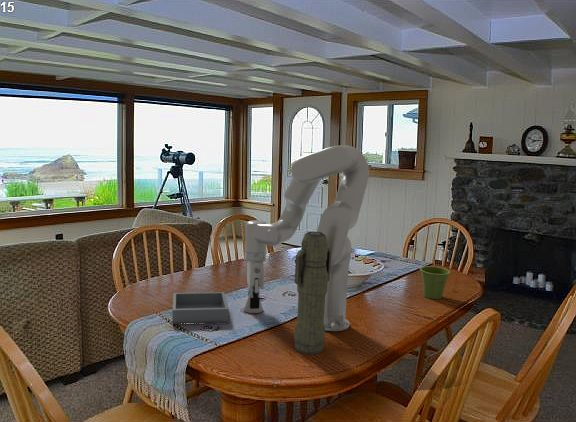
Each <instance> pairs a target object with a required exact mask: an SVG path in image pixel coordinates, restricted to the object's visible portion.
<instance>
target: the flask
mask: <svg viewBox="0 0 576 422" xmlns="http://www.w3.org/2000/svg"><path fill="white" fill-rule="evenodd" d="M253 289H255V287H253ZM253 292H255V291H253ZM250 297H251V289H250V293H249V296H248V295H247V298H246V302H245V304H244V306H243V312H245V313H249V314H260V313H262V312H263V311H264V309H263V305H262V302H261V299H260V300H259V308H258V309H251V308H250Z"/></svg>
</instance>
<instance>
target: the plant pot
mask: <svg viewBox="0 0 576 422" xmlns="http://www.w3.org/2000/svg"><path fill="white" fill-rule="evenodd" d="M419 271H420V272H421V278H422V281H421V282H422V292H423V297H425V298H427V299H433V300H440V299H442V297H443V294H444V290H445V288H446V287H445V286H446V284H447V280H448V278H449V275H450V274H451V271H450V270H449V269H447V268H444V267H440V266H432V265H430V266H429V265H428V266H425V265H424V266H421V267H419Z"/></svg>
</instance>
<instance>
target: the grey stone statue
mask: <svg viewBox="0 0 576 422" xmlns="http://www.w3.org/2000/svg"><path fill="white" fill-rule="evenodd" d="M330 268H331V250H330V248H328V243H327V239H326V235H325V234H323V233H322V232H317V231H307V232H305V233H304V235H303V237H302V241H301V248H300V249H299V250H297V253H296V255H295V267H294V269H295V271H294V283H295V284H296V285H297V286H296V287H297V288H296V290H297V293H298V296H297V297H298V298H297V313H296V315H297V316H296V323H295V325H294V335H293V336H294V339H293V340H294V346H293V347H294V350H295V351H297V352H299V353H301V354H303V355H304V354H305V355H317V354H319V353H322V352H323V351H324V343H325V339H326V338H325V337H326V334H325V333H326V331H325V326H324V308H325V295H326V293H327V285H328V281H329V279H330Z"/></svg>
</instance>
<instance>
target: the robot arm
mask: <svg viewBox="0 0 576 422" xmlns="http://www.w3.org/2000/svg"><path fill="white" fill-rule="evenodd" d="M291 164H292V165H291V167H290V175H291V176H292V177H291V180H290V182H289V183H288V185H287V187H286V189H285V190H284V192H283V196H284V199H285V207H284V209H283V211H282V212H281V215H280V217H279V218H278V220H277V221H275V222H273V223H268V224H267V222H266V221H264V220H259V219H255V220H249V221H247V222H246V224H245V233H244V234H245V237H244V238H245V239H244V261H245V262H246V263H247V264H246V265H247V268H246V270H247V271H246V282H247V285H248V293H247V297H248V296H249V293H250V289H251V297H250V308H251V309H258V308H259V300H260V301H261V298H260V297H261V296H260V290H264V289H265V286H264V285H265V282H264V281H265V269H264V268H265V267H264V265H265V264H264V262H266V261H267V246H271V247H276V246H279V245H281V244H282V243H285V242H287V241H289V240H291V238H292V237H293V236H294V234H295V232H296V231H297V229H298V227H300V224H301V222H302V220H303V217H304V215H305V212H306V209H307V205H308V203H309V201H310V200H311V197H312V196H313V194H314V193H315V191H316V189H317V187H318V185H319V183H320V182H321V180H322V179H324V178H327V177H330V176H334V175H337V174H341V173H342V178H341V181H340V183H339V185H338V189H337V194H336V197H335V199H334V202H333V204H329V206H327V207H326V208H325V209H324V211H323V212H322V214H321V216H320V218H319V224H318V227H317V229H316V232H322V233H323V234H325V235H326V239H327V243H328V248H330V250H331V268H330V279H329V281H328V285H327V293H326V295H325V308H324V326H325V332H327V331H328V332H341V331H344V330H347V329H349V327H350V321H349V320H348V319H346V310H347V309H346V308H347V297H348V281H349V269H350V263H351V262H350V261H351V256H352V242H351V240H350V238H349V237H348V234H349V231H350V230H351V229H352V228H354V227H356V224H357V222H358V220H359V215H360V211H361V209H362V205H363V201H364V196H365V193H366V189H367V186H368V183H369V178H370V177H369V176H370V169H369V164H368V161H367V159H366V157H365V156H364V154H363V153H362V152H361V151H360V150H359V149H357V148H356V147H354V146H351V145H347V144H346V145H345V144H342V145H340V144H339V145H338V144H337V145H332V146H330V147H326V148H324V149H323V148H322V149H320V150H317V151H314V152H312V153H309V154H306V155H302V156H299V157H297V158H296V159H295V160H294V162H293V163H291ZM253 287H255V289H253ZM253 291H255V292H253Z"/></svg>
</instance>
